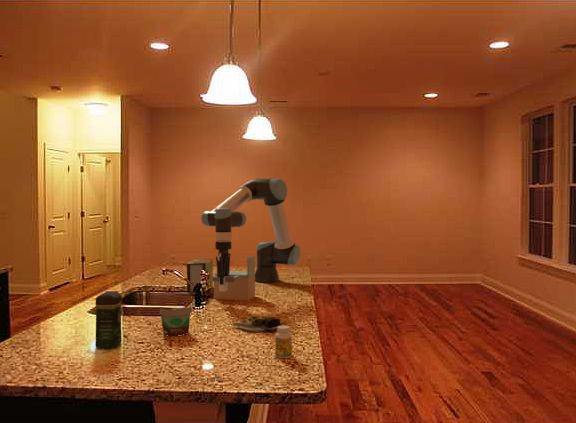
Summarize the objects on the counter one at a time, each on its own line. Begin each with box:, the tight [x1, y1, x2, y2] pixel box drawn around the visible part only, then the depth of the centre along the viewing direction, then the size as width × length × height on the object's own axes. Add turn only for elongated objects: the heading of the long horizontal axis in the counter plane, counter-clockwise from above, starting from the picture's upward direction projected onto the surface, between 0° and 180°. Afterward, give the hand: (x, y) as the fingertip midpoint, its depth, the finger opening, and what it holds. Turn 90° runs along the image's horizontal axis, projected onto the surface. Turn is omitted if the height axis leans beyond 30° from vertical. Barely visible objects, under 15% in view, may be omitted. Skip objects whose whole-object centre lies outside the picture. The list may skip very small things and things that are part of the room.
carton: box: [213, 254, 256, 302], centre depth 252 cm, size 10×18×21 cm, turn 76°
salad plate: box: [232, 316, 283, 333], centre depth 198 cm, size 19×18×5 cm
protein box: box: [186, 259, 214, 293], centre depth 272 cm, size 10×15×16 cm
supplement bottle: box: [274, 325, 293, 359], centre depth 162 cm, size 5×5×10 cm
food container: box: [158, 304, 193, 337], centre depth 186 cm, size 12×6×10 cm, turn 117°
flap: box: [213, 270, 247, 282], centre depth 246 cm, size 22×16×2 cm
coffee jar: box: [94, 290, 123, 350], centre depth 173 cm, size 10×8×19 cm
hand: (223, 290), depth 237 cm, fingers closed on flap, 2 cm apart
